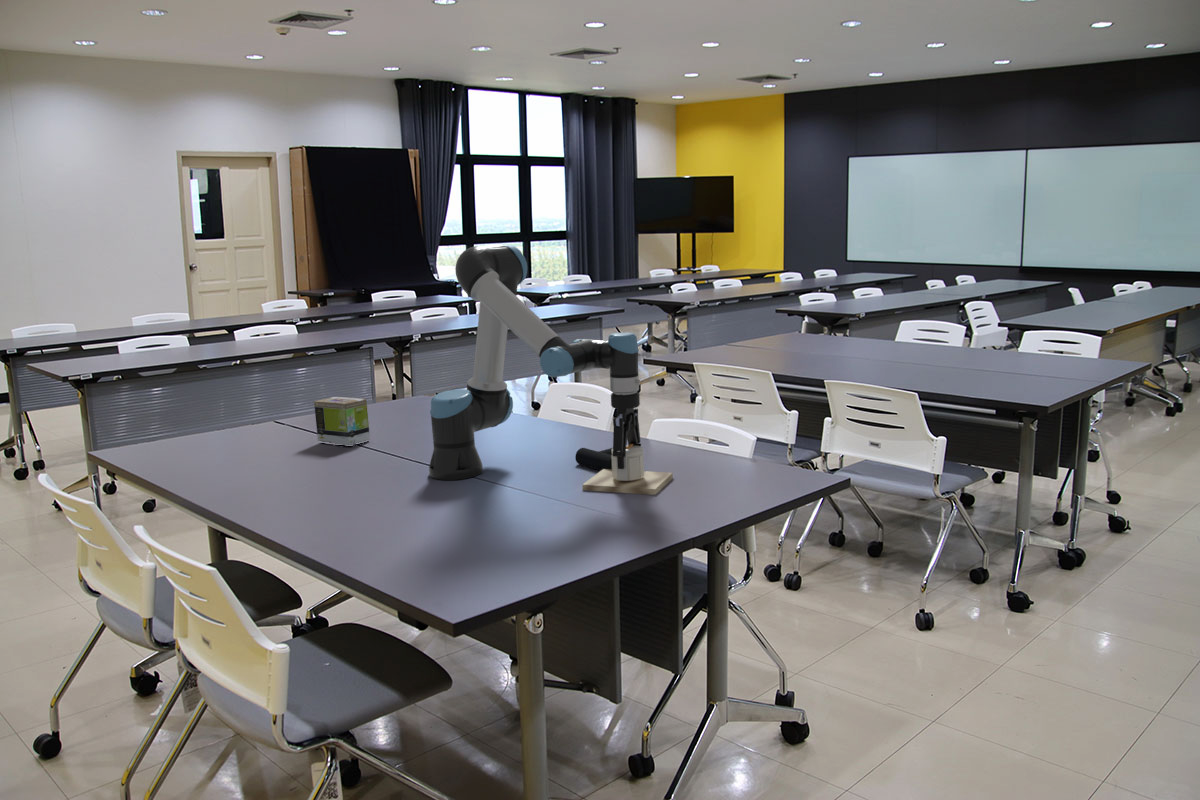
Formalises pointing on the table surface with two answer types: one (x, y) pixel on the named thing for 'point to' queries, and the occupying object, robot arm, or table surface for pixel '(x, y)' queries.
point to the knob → (631, 462)
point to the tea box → (342, 420)
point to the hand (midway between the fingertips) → (628, 475)
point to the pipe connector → (594, 458)
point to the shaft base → (628, 483)
